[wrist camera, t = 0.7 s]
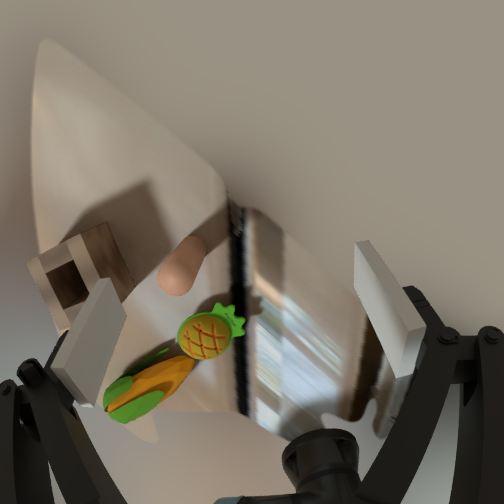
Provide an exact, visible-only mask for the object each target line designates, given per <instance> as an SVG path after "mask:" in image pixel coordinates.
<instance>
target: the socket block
mask: <svg viewBox="0 0 504 504" xmlns="http://www.w3.org/2000/svg"><path fill="white" fill-rule="evenodd" d="M27 265H28V267H29V270H30V272H31V274H32V276H33V279H34V281H35V283H36V285H37V287H38V289H39V291H40V293H41V295H42V297H43V299H44V301H45V303H46V305H47V307H48V309H49V311H50V313H51V315H52V317H53V319H54V320H55V322H56V324H57V326H58V328H59V329H60V330H62V329H65V328H68V327H71V326H72V324H73V322H74V321H75V319H76V317H77V315H78V313H79V312H80V310H81V308H82V306H83V305H84V303H85V301H86V299H87V298H88V296H89V294H90V292H91V291H92V289H93V287H94V286H95V284H96V282H97V281H98V279H103V278H110V279H111V281H112V284H113V286H114V288H115V291H116V293H117V295H118V298H119V300H120V302H121V304H122V302H123V301H124V300H125V299H126V298H127V297H128V295H129V294H130V293H131V292H132V291H133V290H134V288H135V287H136V286H135V284H134V282H133V280H132V278H131V276H130V273H129V271H128V269H127V267H126V265H125V263H124V261H123V258H122V256H121V254H120V252H119V250H118V247H117V245H116V243H115V240H114V238H113V236H112V233H111V231H110V229H109V226H108V224H107V222H105V223H103V224H100V225H98V226H96V227H93V228H91V229H89V230H86V231H84V232H82V233H80V234H78V235H76V236H74V237H72V238H70V239H68V240H66V241H64V242H63V243H61V244H59V245H57V246H55V247H53V248H51V249H50V250H48V251H46V252H44V253H42V254H41V255H39V256H37V257H35V258H34V259H32V260H30V261H28V262H27Z"/></svg>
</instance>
